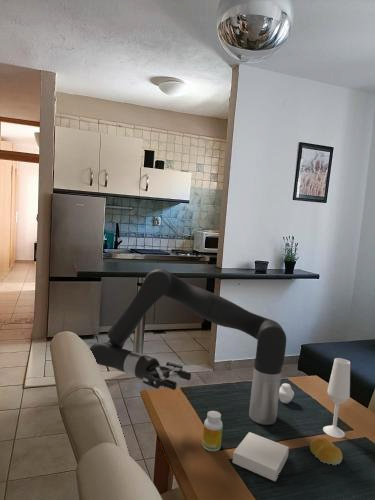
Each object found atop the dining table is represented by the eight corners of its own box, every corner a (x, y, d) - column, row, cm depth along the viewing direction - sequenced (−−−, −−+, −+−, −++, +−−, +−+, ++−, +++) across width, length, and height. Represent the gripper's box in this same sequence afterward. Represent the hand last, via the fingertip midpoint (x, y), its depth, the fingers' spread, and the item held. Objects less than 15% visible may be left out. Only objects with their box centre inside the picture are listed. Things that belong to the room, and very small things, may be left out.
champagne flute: (340, 440, 113) (349, 366, 111) (319, 430, 118) (327, 360, 116) (347, 432, 118) (356, 361, 116) (327, 423, 123) (335, 355, 121)
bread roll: (326, 469, 99) (327, 455, 99) (305, 448, 108) (306, 436, 107) (349, 464, 102) (350, 450, 102) (326, 444, 111) (328, 432, 110)
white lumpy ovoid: (284, 406, 132) (286, 388, 131) (273, 398, 137) (274, 381, 137) (296, 403, 135) (298, 385, 134) (284, 396, 140) (286, 378, 140)
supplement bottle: (219, 453, 102) (222, 420, 101) (200, 449, 103) (203, 417, 102) (221, 442, 107) (224, 411, 106) (203, 438, 108) (206, 408, 107)
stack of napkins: (248, 441, 109) (249, 431, 108) (287, 457, 103) (288, 447, 102) (232, 462, 98) (233, 452, 98) (275, 481, 92) (276, 470, 92)
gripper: (127, 361, 111) (171, 377, 103) (154, 349, 123) (195, 362, 115) (125, 384, 111) (169, 402, 103) (152, 370, 124) (193, 385, 116)
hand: (183, 381), depth 109 cm, fingers open, 8 cm apart
